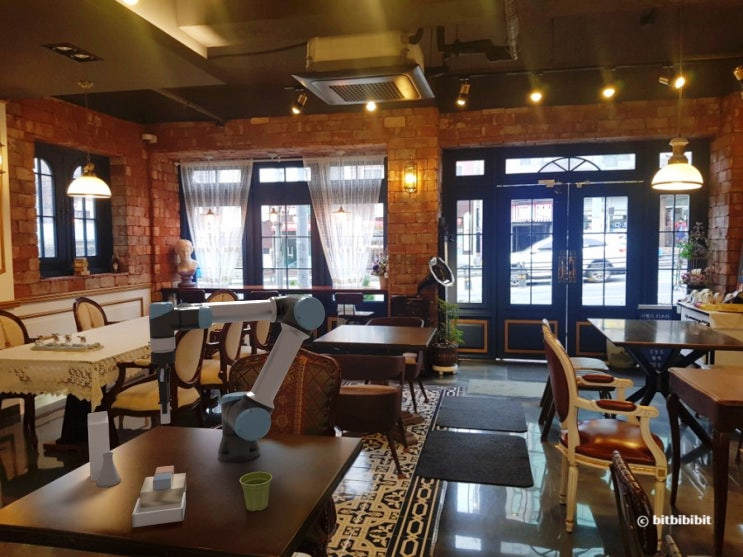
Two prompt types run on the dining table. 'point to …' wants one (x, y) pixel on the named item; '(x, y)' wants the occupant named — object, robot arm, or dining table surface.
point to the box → (158, 513)
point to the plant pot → (256, 490)
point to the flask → (108, 472)
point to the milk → (97, 441)
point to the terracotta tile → (165, 470)
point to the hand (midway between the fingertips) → (165, 422)
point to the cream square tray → (163, 492)
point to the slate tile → (162, 481)
